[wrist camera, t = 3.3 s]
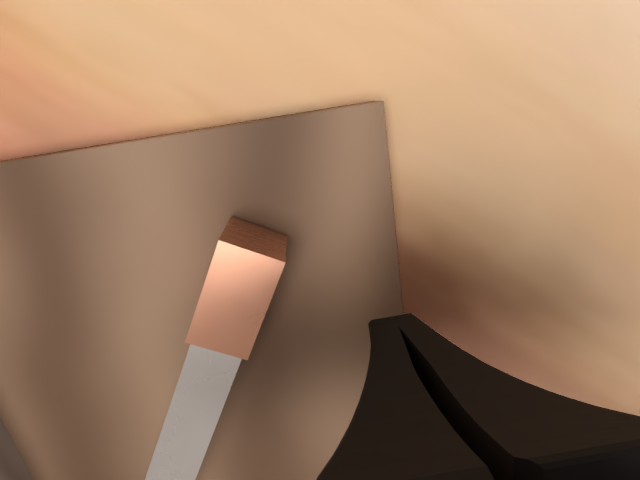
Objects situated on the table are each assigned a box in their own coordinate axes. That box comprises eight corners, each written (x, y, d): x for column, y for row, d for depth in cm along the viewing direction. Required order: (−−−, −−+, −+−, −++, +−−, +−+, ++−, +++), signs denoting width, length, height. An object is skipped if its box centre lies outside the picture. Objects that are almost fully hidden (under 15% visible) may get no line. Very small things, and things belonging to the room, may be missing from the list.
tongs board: (373, 101, 12) (419, 101, 8) (414, 514, 18) (454, 648, 14) (-348, 217, 12) (-727, 286, 8) (-68, 597, 18) (-187, 763, 14)
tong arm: (165, 553, 16) (147, 617, 14) (121, 544, 16) (96, 609, 14) (286, 235, 12) (285, 262, 10) (231, 216, 12) (218, 240, 10)
